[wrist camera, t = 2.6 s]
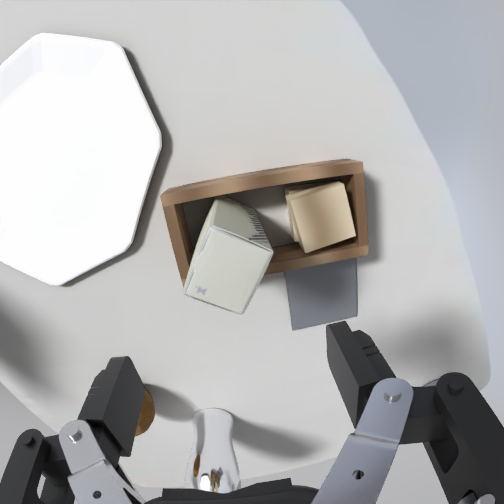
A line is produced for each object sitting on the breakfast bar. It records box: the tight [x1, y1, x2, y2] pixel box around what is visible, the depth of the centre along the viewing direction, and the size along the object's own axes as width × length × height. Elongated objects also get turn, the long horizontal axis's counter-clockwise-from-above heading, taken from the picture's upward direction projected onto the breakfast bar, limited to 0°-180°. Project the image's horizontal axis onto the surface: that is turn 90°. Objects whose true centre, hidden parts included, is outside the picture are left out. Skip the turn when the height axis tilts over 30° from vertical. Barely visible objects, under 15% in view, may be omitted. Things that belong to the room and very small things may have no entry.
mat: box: [285, 257, 357, 330], centre depth 35 cm, size 8×8×1 cm
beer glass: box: [185, 408, 241, 493], centre depth 34 cm, size 7×7×15 cm
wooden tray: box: [160, 159, 369, 287], centre depth 30 cm, size 18×9×4 cm, turn 99°
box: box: [183, 195, 273, 314], centre depth 25 cm, size 5×4×13 cm
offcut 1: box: [285, 181, 330, 242], centre depth 31 cm, size 5×5×2 cm
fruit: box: [135, 389, 155, 436], centre depth 35 cm, size 6×6×8 cm
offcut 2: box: [285, 180, 356, 253], centre depth 28 cm, size 5×5×2 cm
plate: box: [0, 33, 162, 286], centre depth 27 cm, size 28×28×2 cm
